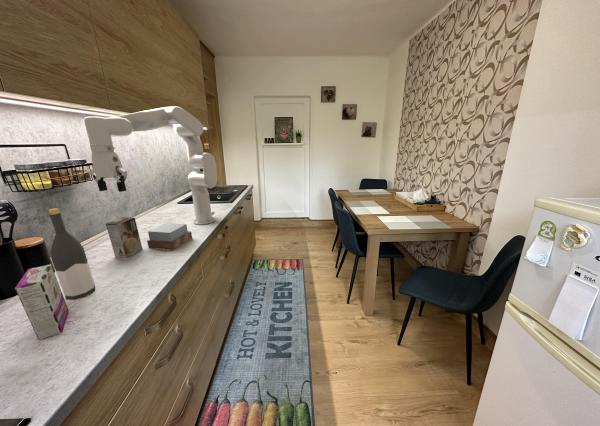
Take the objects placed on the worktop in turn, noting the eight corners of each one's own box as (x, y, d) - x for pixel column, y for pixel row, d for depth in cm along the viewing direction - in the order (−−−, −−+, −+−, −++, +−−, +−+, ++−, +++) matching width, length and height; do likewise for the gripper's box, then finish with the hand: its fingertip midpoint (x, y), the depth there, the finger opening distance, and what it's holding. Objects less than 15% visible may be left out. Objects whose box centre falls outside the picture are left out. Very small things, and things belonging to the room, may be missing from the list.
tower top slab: (167, 231, 127) (165, 222, 126) (187, 232, 125) (186, 224, 123) (149, 240, 116) (147, 231, 114) (171, 241, 113) (170, 232, 112)
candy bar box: (47, 317, 71) (27, 268, 67) (69, 310, 74) (52, 263, 69) (36, 342, 63) (13, 287, 58) (62, 333, 65) (42, 280, 61)
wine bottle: (90, 283, 88) (65, 204, 79) (100, 290, 84) (75, 207, 75) (61, 295, 81) (30, 210, 73) (70, 303, 77) (39, 214, 69)
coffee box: (131, 248, 117) (123, 216, 112) (142, 249, 115) (135, 217, 111) (114, 257, 108) (105, 223, 103) (126, 258, 107) (117, 224, 102)
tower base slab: (169, 237, 130) (167, 230, 128) (192, 239, 127) (191, 231, 126) (148, 249, 117) (146, 240, 115) (174, 251, 114) (172, 242, 113)
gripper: (128, 148, 100) (137, 189, 105) (94, 149, 103) (104, 188, 108) (112, 149, 93) (122, 193, 98) (75, 150, 96) (87, 192, 101)
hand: (113, 190), depth 103 cm, fingers open, 9 cm apart
